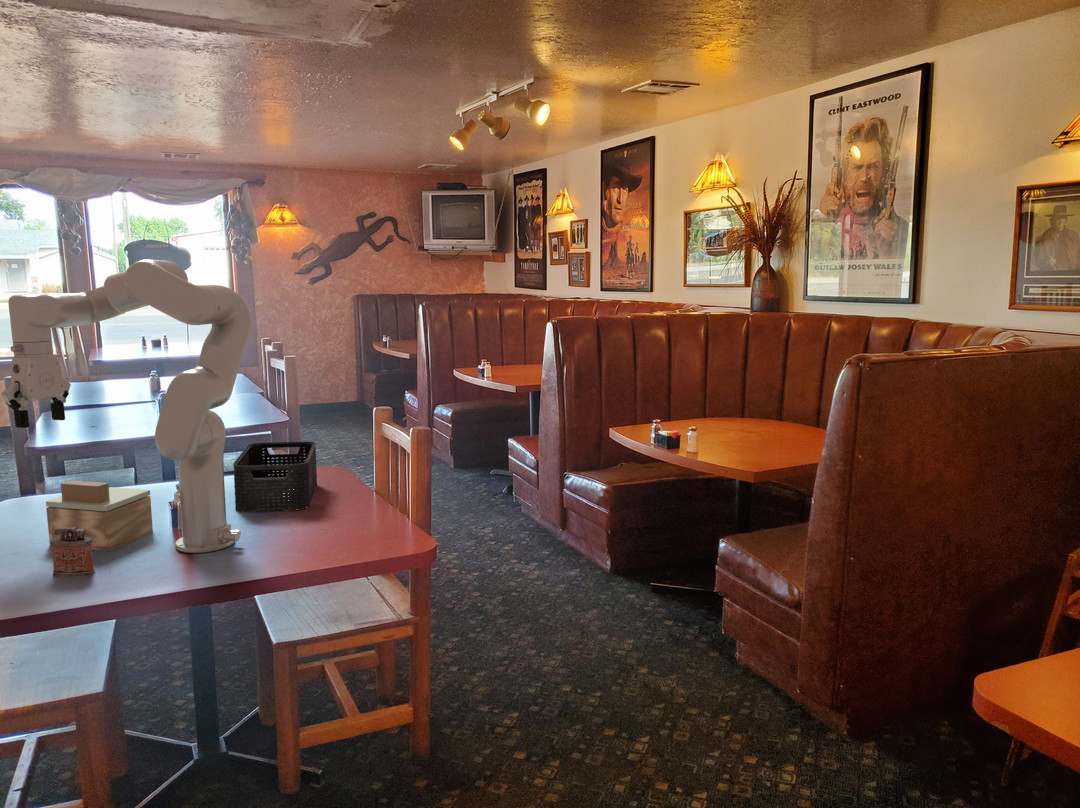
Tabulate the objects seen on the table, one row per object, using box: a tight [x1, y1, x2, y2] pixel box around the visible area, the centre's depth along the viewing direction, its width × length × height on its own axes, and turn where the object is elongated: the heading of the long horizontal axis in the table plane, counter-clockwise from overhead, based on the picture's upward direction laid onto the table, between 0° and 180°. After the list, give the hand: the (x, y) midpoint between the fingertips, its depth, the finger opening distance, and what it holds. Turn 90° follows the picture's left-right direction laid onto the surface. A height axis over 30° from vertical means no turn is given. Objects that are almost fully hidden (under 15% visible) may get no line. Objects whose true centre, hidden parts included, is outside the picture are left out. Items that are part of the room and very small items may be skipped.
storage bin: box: [232, 440, 318, 513], centre depth 217 cm, size 29×19×13 cm
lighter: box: [49, 527, 96, 578], centre depth 159 cm, size 8×3×10 cm, turn 92°
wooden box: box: [45, 495, 154, 552], centre depth 181 cm, size 16×14×9 cm
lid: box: [45, 479, 151, 511], centre depth 180 cm, size 16×14×5 cm
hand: (41, 423), depth 177 cm, fingers open, 9 cm apart
